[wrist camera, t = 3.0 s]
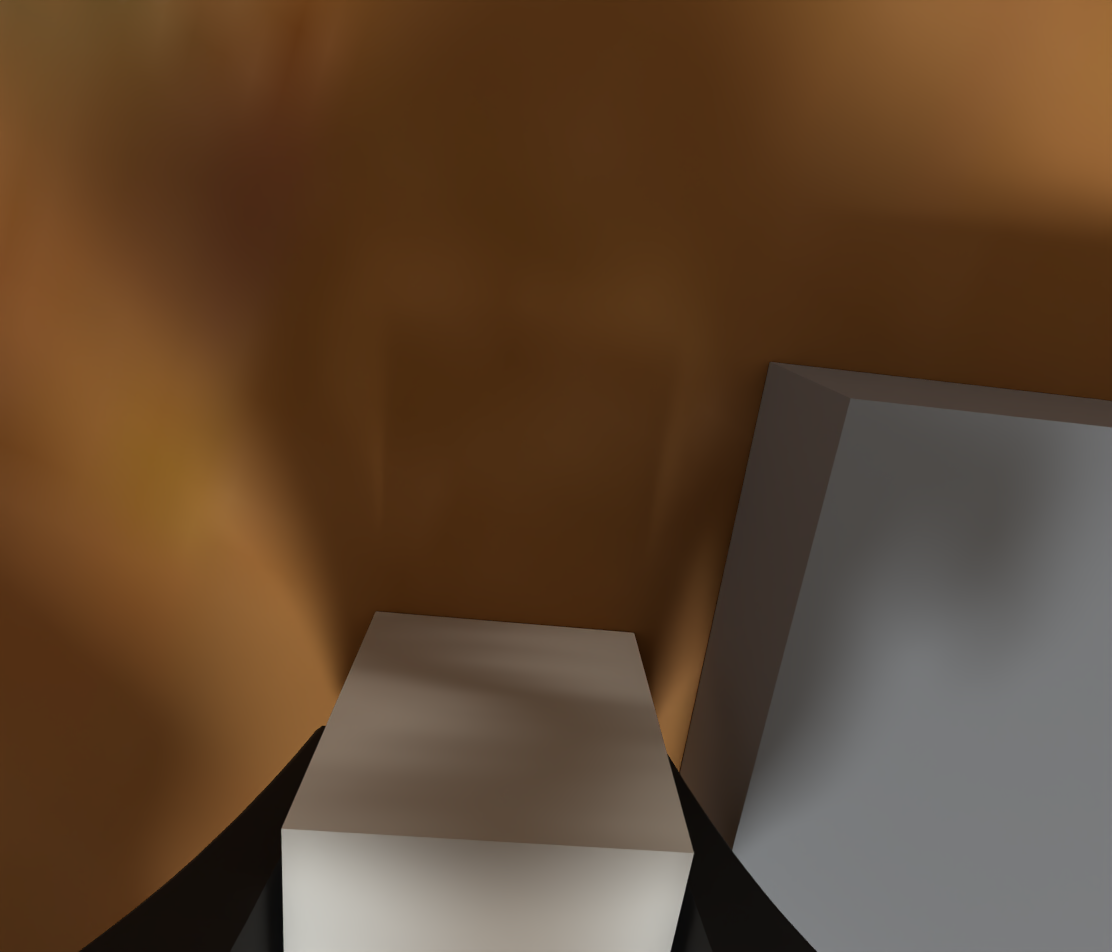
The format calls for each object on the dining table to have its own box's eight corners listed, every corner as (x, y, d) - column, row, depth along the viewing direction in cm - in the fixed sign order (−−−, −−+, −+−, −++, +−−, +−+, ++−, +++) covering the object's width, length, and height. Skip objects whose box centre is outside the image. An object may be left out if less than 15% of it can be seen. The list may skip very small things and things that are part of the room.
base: (654, 885, 15) (684, 1033, 12) (769, 361, 11) (850, 398, 8) (1143, 912, 16) (1277, 1056, 13) (1402, 434, 12) (1669, 489, 9)
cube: (369, 815, 14) (286, 1100, 9) (375, 611, 13) (280, 828, 8) (599, 829, 14) (632, 1111, 10) (634, 632, 13) (693, 852, 8)
